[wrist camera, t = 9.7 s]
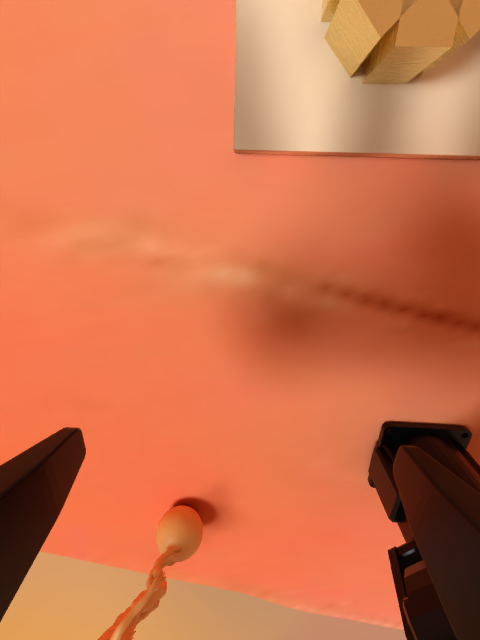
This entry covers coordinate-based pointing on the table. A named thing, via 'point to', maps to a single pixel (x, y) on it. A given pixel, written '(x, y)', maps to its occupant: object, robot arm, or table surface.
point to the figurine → (175, 546)
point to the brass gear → (397, 35)
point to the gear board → (343, 94)
